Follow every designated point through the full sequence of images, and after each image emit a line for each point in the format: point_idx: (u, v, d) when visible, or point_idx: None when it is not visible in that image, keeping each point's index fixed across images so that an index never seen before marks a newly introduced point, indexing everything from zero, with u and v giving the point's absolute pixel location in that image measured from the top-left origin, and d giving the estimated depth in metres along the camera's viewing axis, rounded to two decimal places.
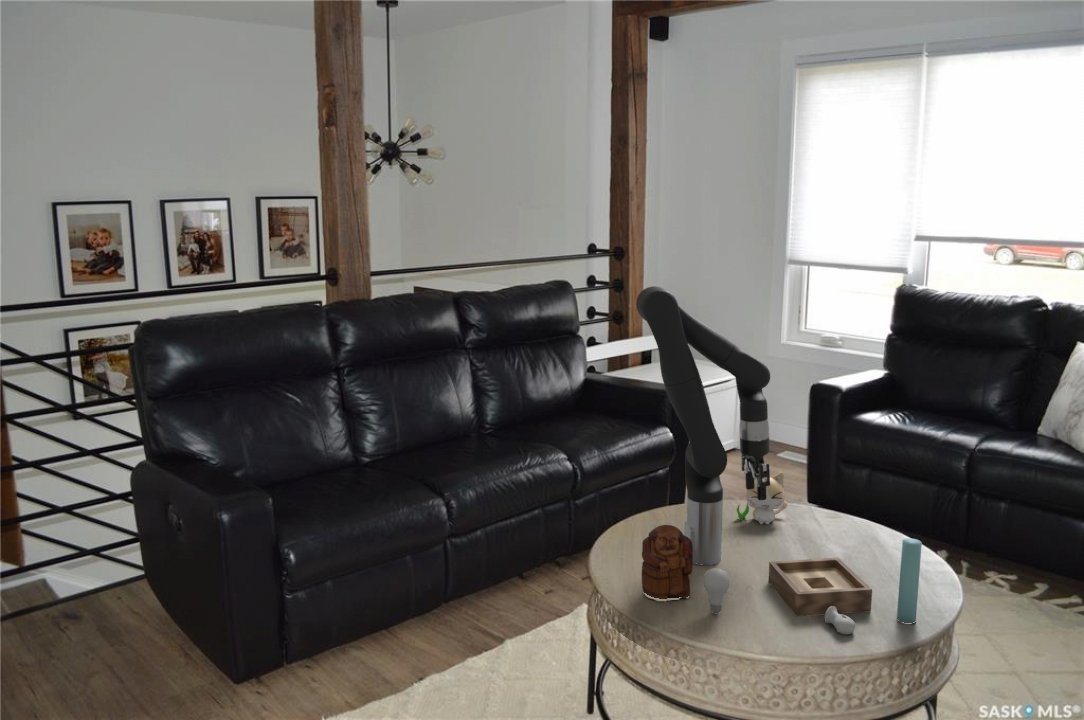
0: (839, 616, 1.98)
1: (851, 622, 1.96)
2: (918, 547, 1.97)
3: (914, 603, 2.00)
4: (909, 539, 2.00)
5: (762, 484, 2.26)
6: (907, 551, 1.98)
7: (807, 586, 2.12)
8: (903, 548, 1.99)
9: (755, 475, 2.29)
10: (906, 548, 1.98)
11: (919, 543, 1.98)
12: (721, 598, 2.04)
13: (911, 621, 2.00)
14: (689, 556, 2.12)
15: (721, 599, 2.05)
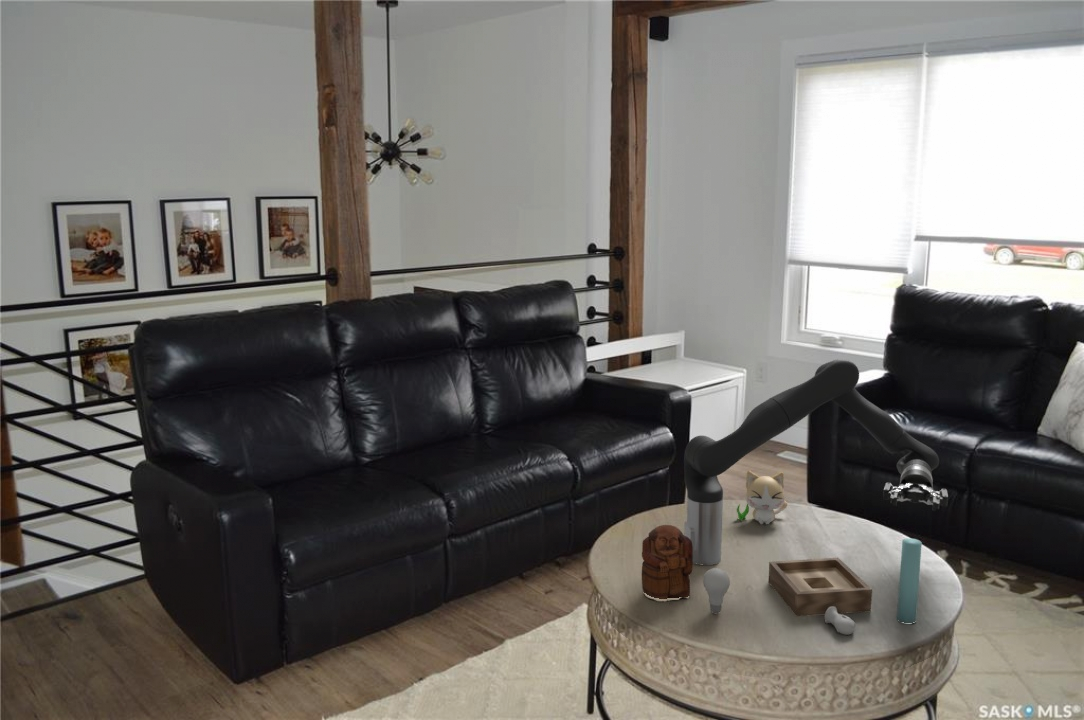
0: (839, 616, 1.98)
1: (851, 622, 1.96)
2: (918, 547, 1.97)
3: (914, 603, 2.00)
4: (909, 539, 2.00)
5: (947, 497, 2.09)
6: (907, 551, 1.98)
7: (807, 586, 2.12)
8: (903, 548, 1.99)
9: None
10: (906, 548, 1.98)
11: (919, 543, 1.98)
12: (721, 598, 2.04)
13: (911, 621, 2.00)
14: (689, 556, 2.12)
15: (721, 599, 2.05)
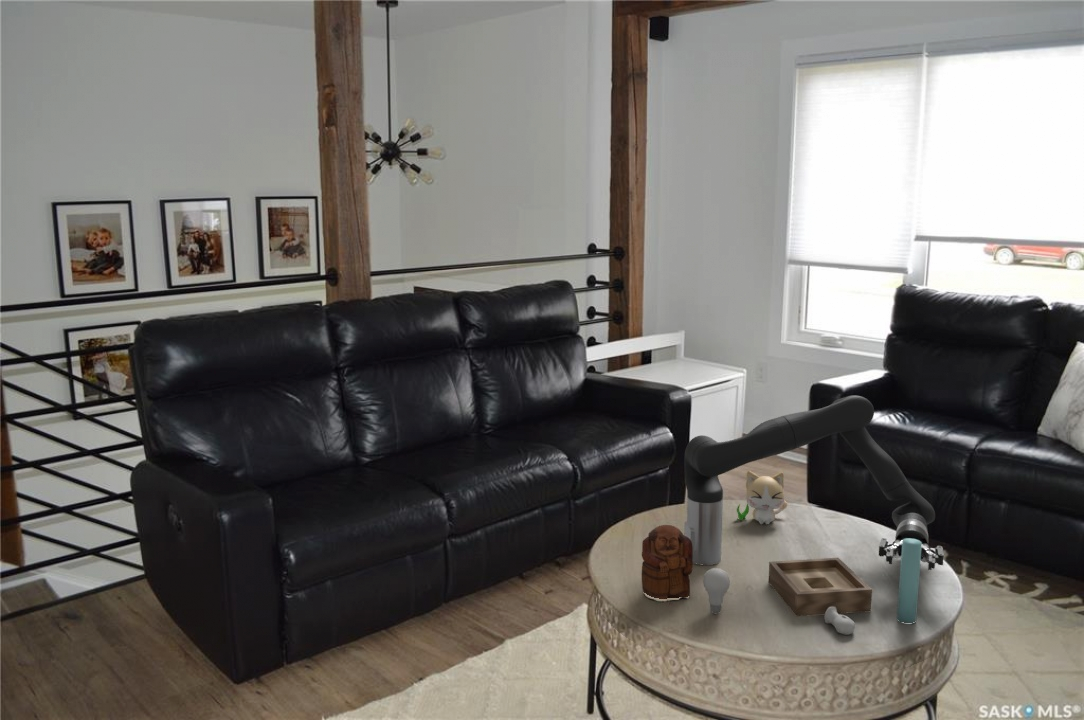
0: (839, 616, 1.98)
1: (851, 622, 1.96)
2: (918, 547, 1.97)
3: (914, 603, 2.00)
4: (909, 539, 2.00)
5: (943, 556, 2.08)
6: (907, 551, 1.98)
7: (807, 586, 2.12)
8: (903, 548, 1.99)
9: None
10: (906, 548, 1.98)
11: (919, 543, 1.98)
12: (721, 598, 2.04)
13: (911, 621, 2.00)
14: (689, 556, 2.12)
15: (721, 599, 2.05)
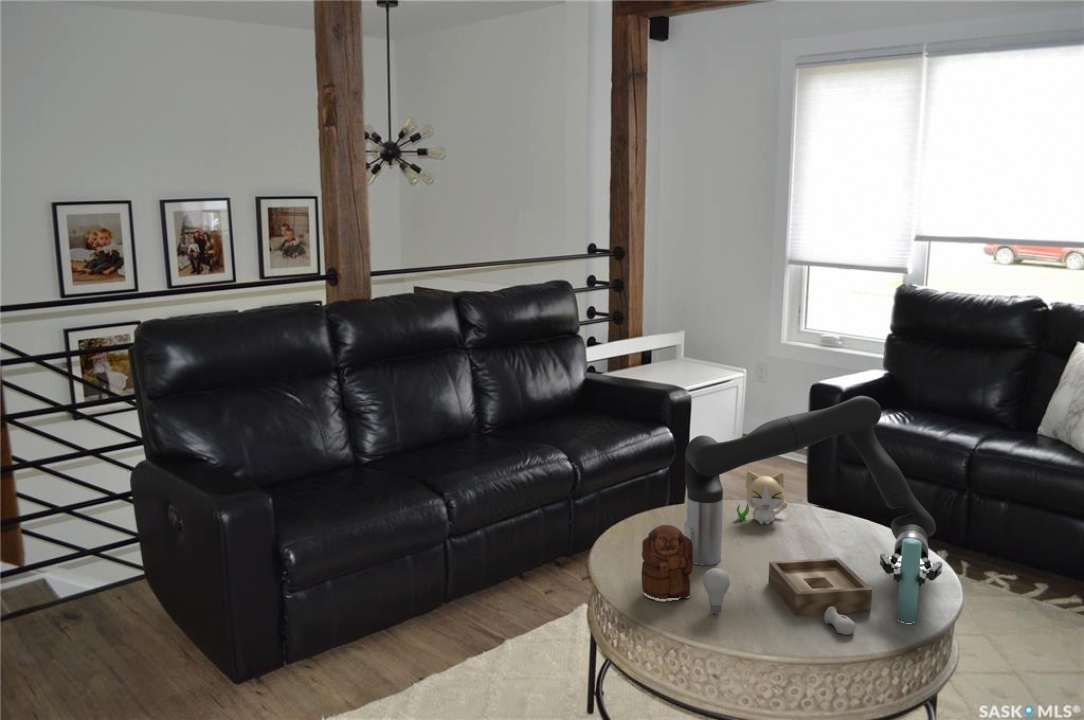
0: (839, 616, 1.98)
1: (851, 622, 1.96)
2: (918, 547, 1.97)
3: (914, 603, 2.00)
4: (909, 539, 2.00)
5: (934, 571, 2.00)
6: (907, 551, 1.98)
7: (807, 586, 2.12)
8: (903, 548, 1.99)
9: (923, 564, 2.02)
10: (906, 548, 1.98)
11: (919, 543, 1.98)
12: (721, 598, 2.04)
13: (911, 621, 2.00)
14: (689, 556, 2.12)
15: (721, 599, 2.05)
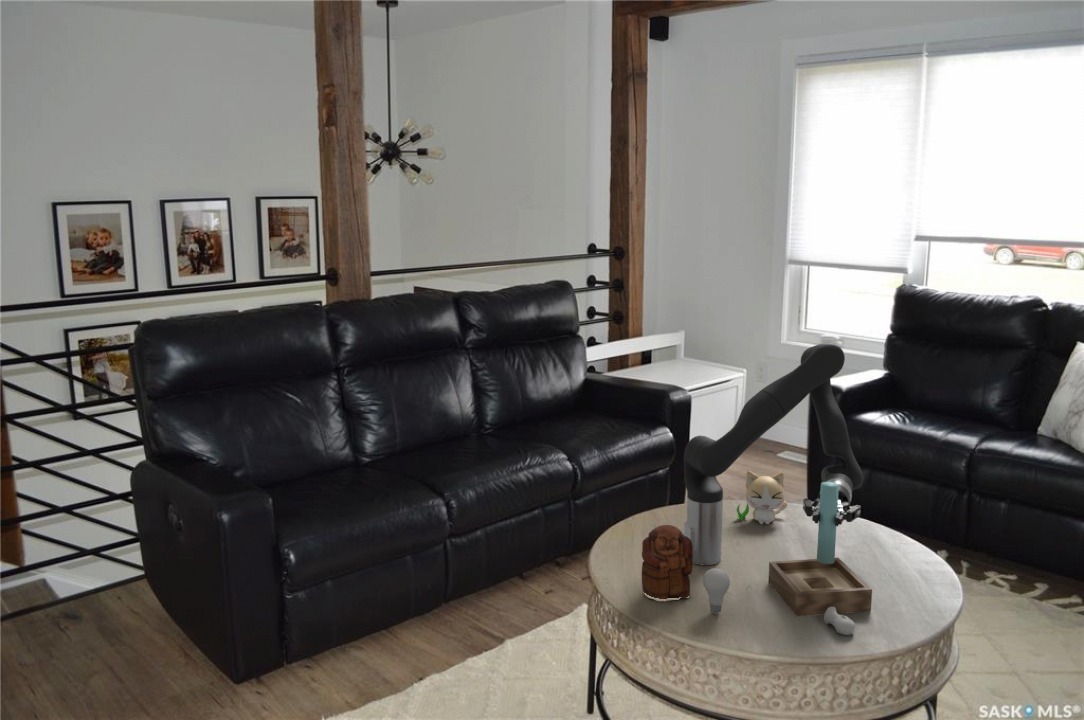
0: (839, 617, 1.98)
1: (851, 623, 1.96)
2: (835, 489, 2.06)
3: (832, 543, 2.09)
4: (827, 482, 2.09)
5: (851, 513, 2.09)
6: (824, 493, 2.07)
7: (807, 586, 2.12)
8: (821, 490, 2.08)
9: None
10: (824, 490, 2.07)
11: (836, 485, 2.07)
12: (721, 598, 2.04)
13: (829, 561, 2.09)
14: (689, 556, 2.12)
15: (721, 599, 2.05)
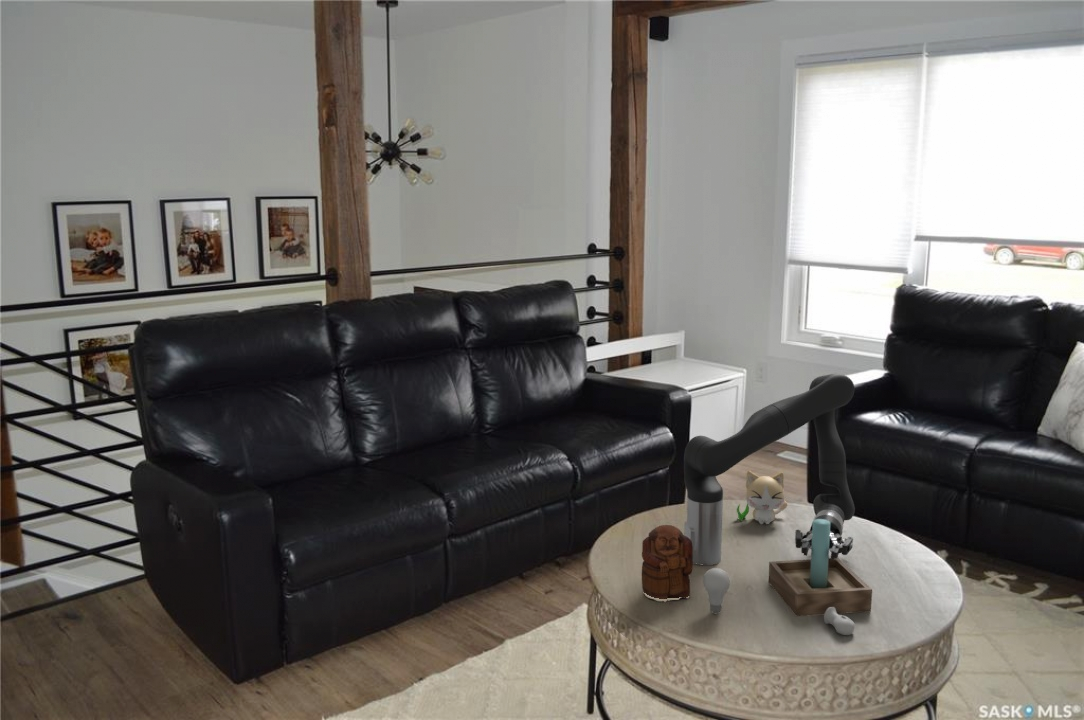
0: (839, 617, 1.98)
1: (851, 623, 1.96)
2: (827, 527, 2.09)
3: (824, 579, 2.12)
4: (819, 520, 2.12)
5: (847, 546, 2.12)
6: (816, 531, 2.10)
7: (807, 586, 2.12)
8: (813, 528, 2.11)
9: None
10: (816, 528, 2.10)
11: (828, 523, 2.10)
12: (721, 598, 2.04)
13: None
14: (689, 556, 2.12)
15: (721, 599, 2.05)
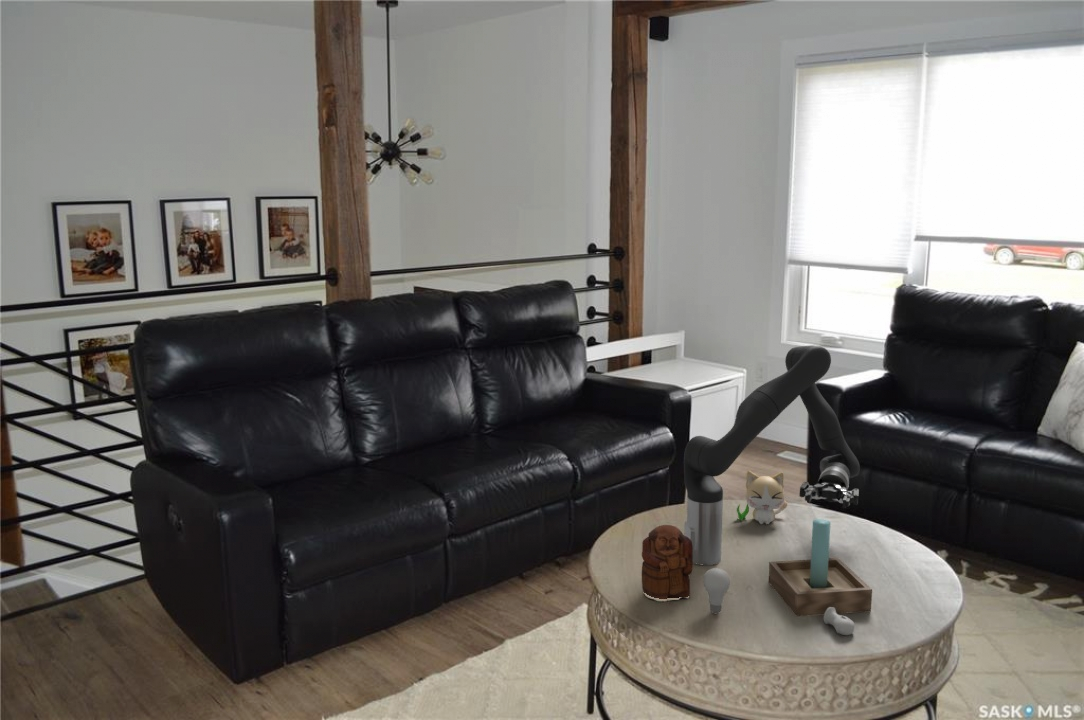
0: (838, 617, 1.98)
1: (851, 623, 1.96)
2: (827, 527, 2.09)
3: (824, 579, 2.12)
4: (819, 519, 2.12)
5: None
6: (816, 530, 2.10)
7: (807, 586, 2.12)
8: (813, 528, 2.11)
9: None
10: (816, 528, 2.10)
11: (828, 523, 2.10)
12: (721, 598, 2.04)
13: None
14: (689, 556, 2.12)
15: (721, 599, 2.05)
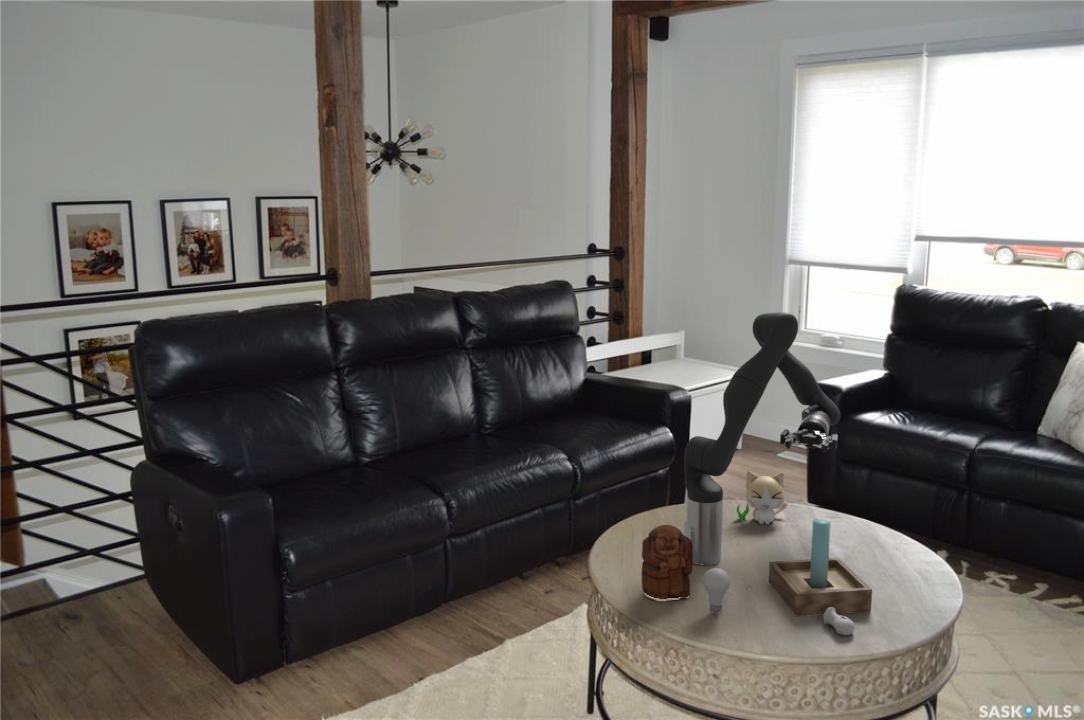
0: (838, 617, 1.97)
1: (851, 623, 1.95)
2: (827, 527, 2.09)
3: (824, 579, 2.12)
4: (819, 519, 2.12)
5: (836, 441, 2.28)
6: (816, 530, 2.10)
7: (807, 586, 2.12)
8: (813, 528, 2.11)
9: None
10: (816, 528, 2.10)
11: (828, 523, 2.10)
12: (721, 598, 2.04)
13: None
14: (689, 556, 2.12)
15: (721, 599, 2.05)
